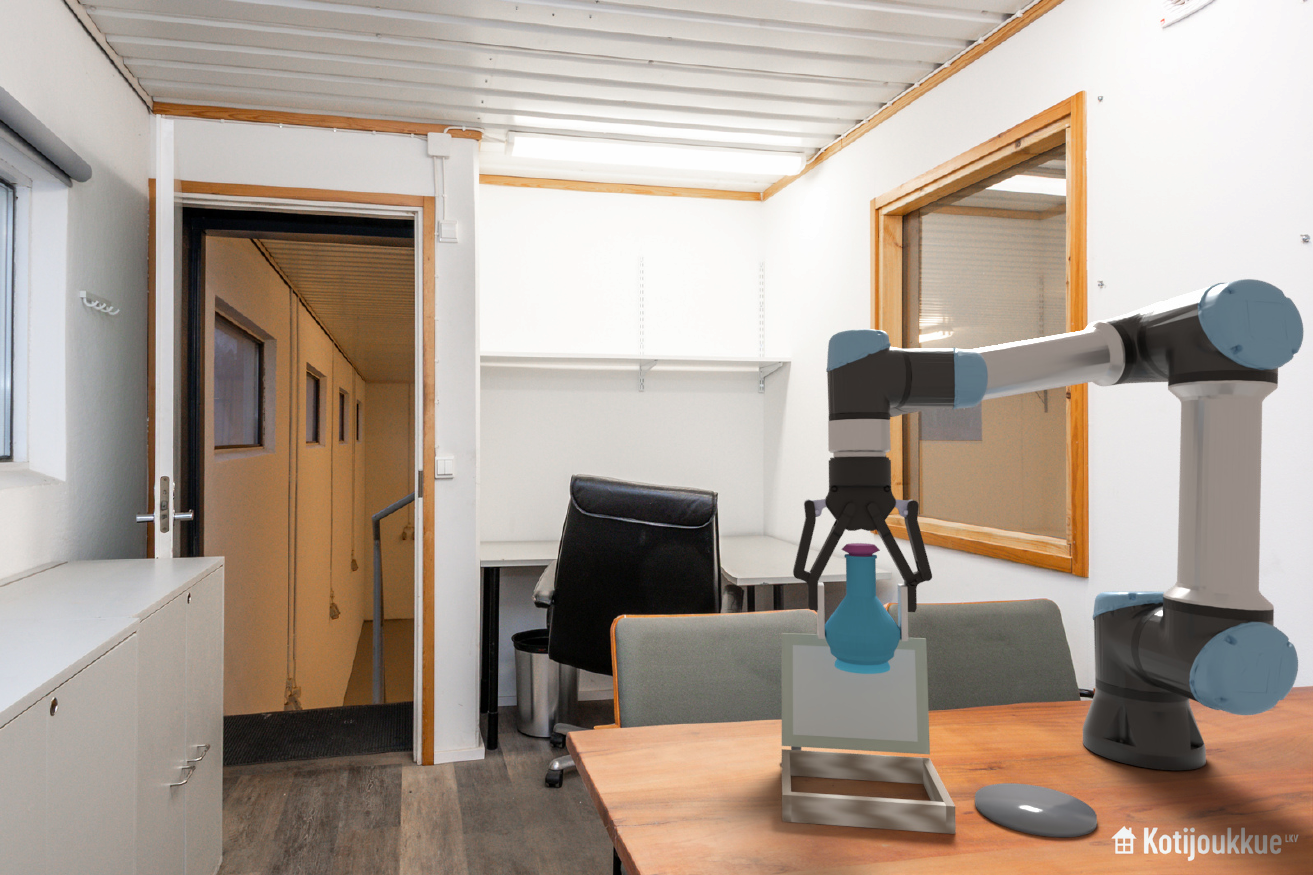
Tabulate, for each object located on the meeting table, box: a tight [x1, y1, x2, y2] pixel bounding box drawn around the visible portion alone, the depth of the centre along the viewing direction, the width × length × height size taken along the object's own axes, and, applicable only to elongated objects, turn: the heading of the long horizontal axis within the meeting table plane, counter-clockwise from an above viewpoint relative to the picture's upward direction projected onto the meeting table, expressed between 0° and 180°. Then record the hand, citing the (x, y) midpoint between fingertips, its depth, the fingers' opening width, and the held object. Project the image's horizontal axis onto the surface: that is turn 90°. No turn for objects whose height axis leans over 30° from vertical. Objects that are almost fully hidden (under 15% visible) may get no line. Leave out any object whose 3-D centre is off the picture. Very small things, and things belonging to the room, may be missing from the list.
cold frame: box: [781, 748, 957, 835], centre depth 97 cm, size 19×15×3 cm
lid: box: [781, 632, 931, 755], centre depth 105 cm, size 19×15×1 cm
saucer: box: [974, 782, 1098, 838], centre depth 94 cm, size 13×13×1 cm
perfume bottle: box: [825, 542, 901, 674], centre depth 97 cm, size 9×9×15 cm
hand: (861, 637), depth 97 cm, fingers closed on perfume bottle, 9 cm apart
